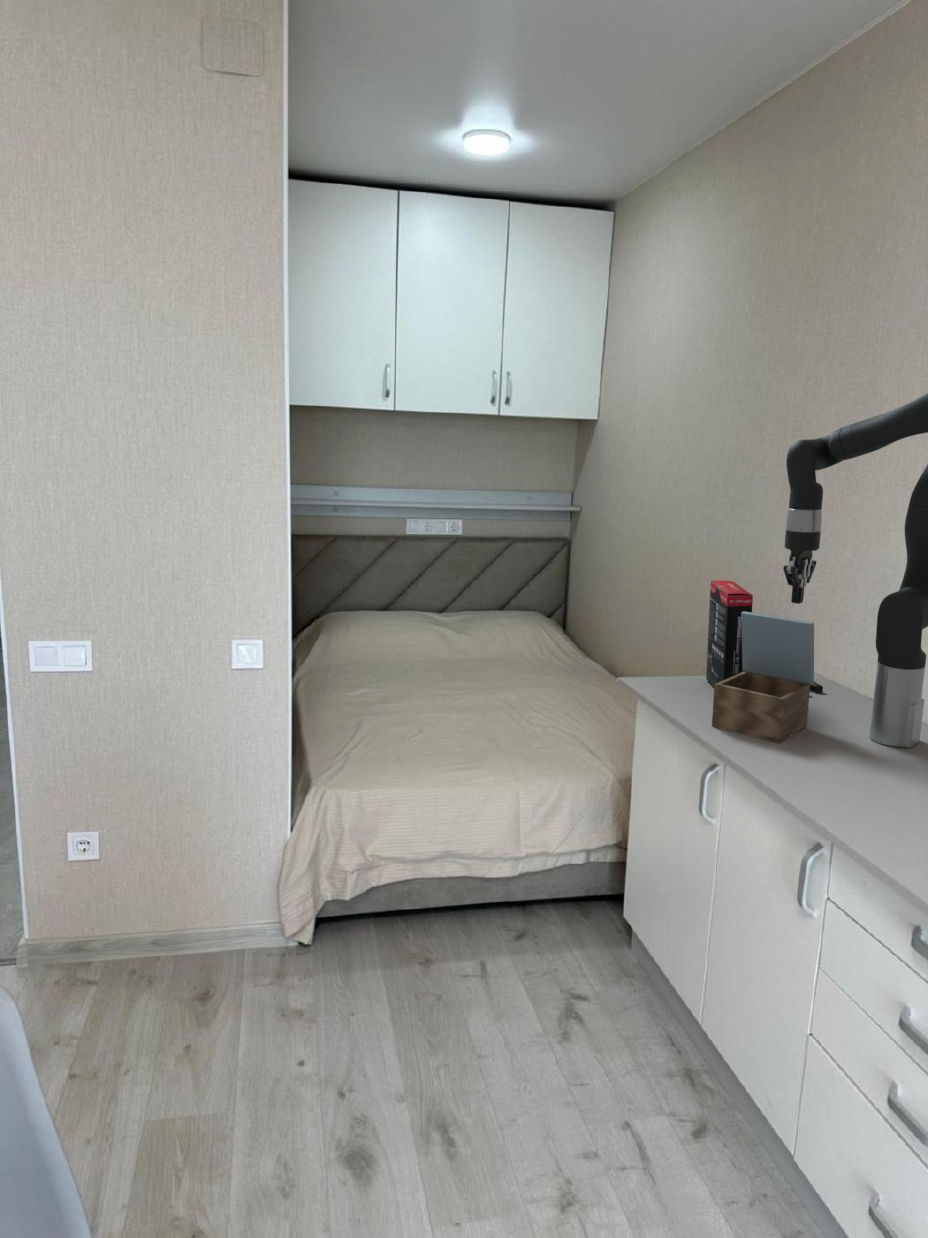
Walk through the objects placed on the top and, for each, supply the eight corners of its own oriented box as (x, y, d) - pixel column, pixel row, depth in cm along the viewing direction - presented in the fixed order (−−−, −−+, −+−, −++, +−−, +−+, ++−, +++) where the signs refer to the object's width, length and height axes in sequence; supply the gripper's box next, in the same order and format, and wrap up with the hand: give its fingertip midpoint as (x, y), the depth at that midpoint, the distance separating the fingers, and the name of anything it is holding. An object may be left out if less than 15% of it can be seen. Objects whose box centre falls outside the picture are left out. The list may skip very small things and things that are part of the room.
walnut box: (806, 727, 203) (810, 685, 201) (779, 743, 193) (782, 699, 191) (740, 711, 214) (743, 671, 211) (711, 726, 204) (714, 684, 202)
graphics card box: (748, 700, 222) (756, 592, 216) (720, 700, 222) (727, 592, 216) (729, 680, 239) (735, 579, 232) (703, 680, 239) (708, 579, 232)
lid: (811, 686, 200) (813, 684, 201) (811, 624, 195) (814, 622, 196) (742, 672, 212) (745, 670, 212) (740, 613, 206) (743, 611, 207)
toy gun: (767, 686, 234) (768, 668, 233) (813, 686, 234) (815, 668, 233) (778, 698, 225) (780, 679, 224) (827, 698, 224) (828, 679, 223)
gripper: (807, 532, 197) (800, 609, 201) (831, 527, 206) (824, 600, 210) (774, 529, 202) (768, 604, 206) (799, 524, 211) (793, 596, 215)
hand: (797, 602), depth 208 cm, fingers closed
